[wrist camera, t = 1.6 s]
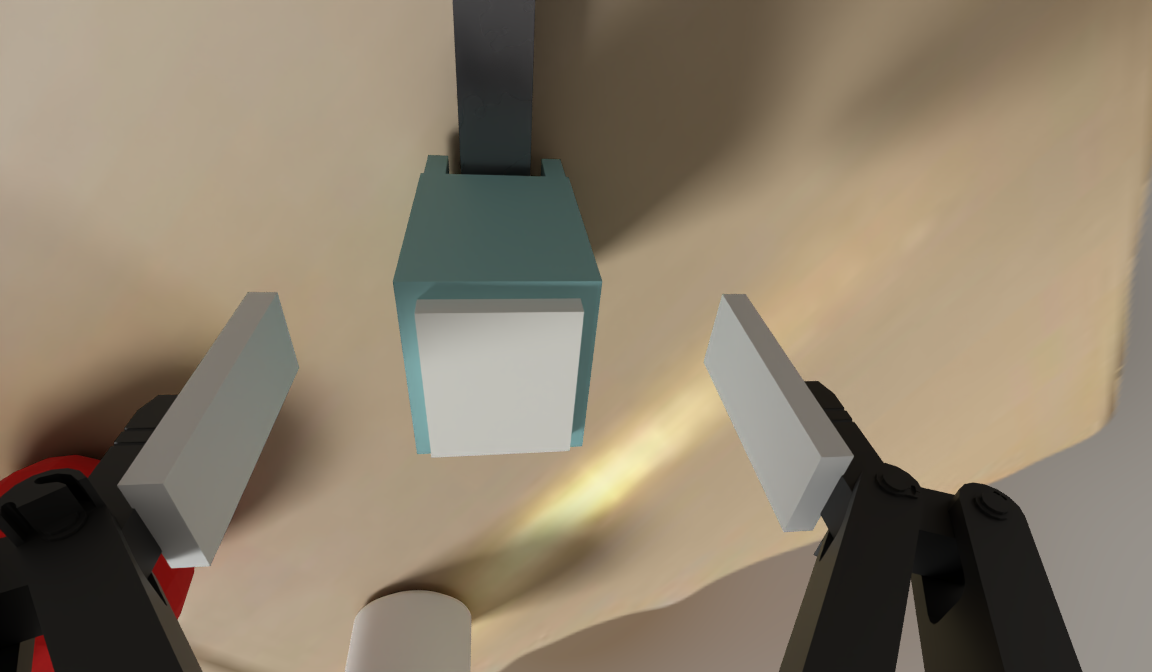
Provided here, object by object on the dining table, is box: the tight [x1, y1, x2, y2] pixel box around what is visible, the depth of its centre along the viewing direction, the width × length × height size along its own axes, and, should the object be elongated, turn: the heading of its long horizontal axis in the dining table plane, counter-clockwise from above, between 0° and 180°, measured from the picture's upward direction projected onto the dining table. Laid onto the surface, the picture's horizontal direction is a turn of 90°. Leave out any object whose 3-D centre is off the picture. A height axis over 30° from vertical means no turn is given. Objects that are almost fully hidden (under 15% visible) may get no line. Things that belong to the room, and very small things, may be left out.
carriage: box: [393, 155, 602, 457], centre depth 18 cm, size 5×6×9 cm
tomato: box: [0, 455, 194, 672], centre depth 25 cm, size 11×13×10 cm
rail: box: [453, 0, 535, 176], centre depth 19 cm, size 2×17×2 cm, turn 176°
